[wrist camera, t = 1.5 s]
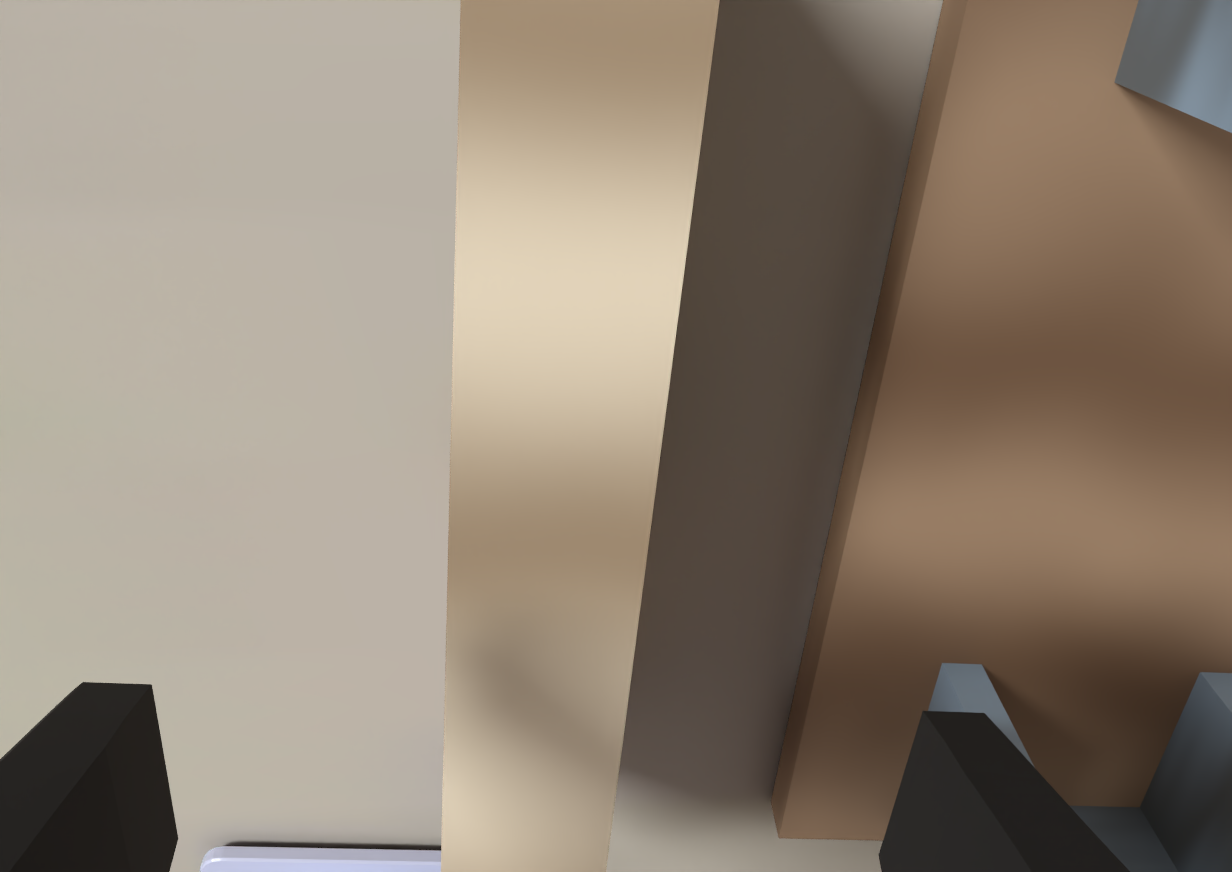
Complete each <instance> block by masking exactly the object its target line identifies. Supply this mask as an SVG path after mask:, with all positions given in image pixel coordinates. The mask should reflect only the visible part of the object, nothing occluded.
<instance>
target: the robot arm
mask: <svg viewBox="0 0 1232 872" xmlns="http://www.w3.org/2000/svg"><path fill="white" fill-rule="evenodd" d="M177 841H178V835H177V829H176V824H175V818H174V812H173V806H172V800H171V794H170V789H169V783H168V777H167V771H166V765H165V759H164V754H163V748H162V742H161V736H160V730H159V724H158V719H157V713H156V707H155V701H154V695H153V689H152V685H148V684H119V683H89V682H83V683H81V684H80V685H79V686H78V687H77V688H75V689H74V690H73V691H72V692H71V693H70V694H69V695H67V696H66V697H65V698H64V699H63V700H62V701H61V702H60V703H59V704H58V705H57V706H56V707H55V708H54V709H52V710H51V711H50V712H49V713H48V714H47V715H46V716H45V717H44V718H43V719H42V720H41V721H40V722H39V723H38V724H37V725H36V726H35V727H34V728H33V729H31V730H30V731H29V732H28V733H27V734H26V735H25V736H24V737H23V738H22V739H21V740H20V741H19V742H18V743H17V744H16V745H15V746H14V747H13V748H12V749H11V750H10V751H9V752H7V753H6V754H5V755H4V756H3V757H2V758H1V759H0V872H169V871H170V867H171V863H172V859H173V856H174V852H175V848H176V845H177ZM879 859H880V864H881V870H882V872H1130V871H1129V870H1128V869H1127V868H1126V867H1125V866H1124V864H1123V863H1122V862H1121V861H1120V860H1119V859H1118V858H1117V857H1116V856H1115V855H1114V854H1113V853H1112V852H1111V851H1110V850H1109V848H1108V847H1107V846H1106V845H1105V844H1104V843H1103V842H1102V841H1101V840H1100V839H1099V838H1098V837H1097V836H1096V834H1095V833H1094V832H1093V831H1092V830H1091V829H1090V828H1089V827H1088V826H1087V825H1086V824H1085V822H1084V821H1083V820H1082V819H1081V818H1080V817H1079V816H1078V815H1077V814H1076V813H1075V812H1074V810H1073V809H1072V808H1071V807H1070V806H1069V805H1068V804H1067V803H1066V802H1065V801H1064V800H1063V798H1062V797H1061V796H1060V795H1059V794H1058V793H1057V792H1056V791H1055V790H1054V789H1053V787H1052V786H1051V785H1050V784H1049V783H1048V782H1047V781H1046V780H1045V779H1044V777H1043V776H1042V775H1041V774H1040V773H1039V772H1038V771H1037V770H1036V769H1035V767H1034V766H1033V765H1032V764H1031V763H1030V762H1029V761H1028V760H1027V759H1026V757H1025V756H1024V755H1023V754H1022V753H1021V752H1020V751H1019V750H1018V749H1017V748H1016V746H1015V745H1014V744H1013V743H1012V742H1011V741H1010V740H1009V739H1008V738H1007V737H1006V735H1005V734H1004V733H1003V732H1002V731H1001V730H1000V729H999V728H998V727H997V726H996V725H995V724H994V723H993V721H992V720H991V719H990V718H989V717H988V716H987V715H986V714H985V713H974V712H945V711H923V712H922V715H921V718H920V721H919V725H918V728H917V731H916V735H915V738H914V741H913V744H912V748H911V751H910V754H909V757H908V761H907V764H906V767H905V771H904V774H903V777H902V780H901V784H900V787H899V790H898V794H897V797H896V800H895V803H894V807H893V810H892V813H891V816H890V820H889V823H888V826H887V830H886V833H885V836H884V839H883V843H882V846H881V849H880V853H879ZM200 872H441V850H393V849H344V848H295V847H246V846H222V847H216V848H213V849H211V850H209V851H208V852H207V853H206V854H205V856H204V858H203V861H202V864H201V867H200Z"/></svg>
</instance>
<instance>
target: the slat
mask: <svg viewBox="0 0 1232 872" xmlns="http://www.w3.org/2000/svg"><path fill="white" fill-rule="evenodd" d="M719 2H720V0H461V14H460V58H459V101H458V145H457V188H456V232H455V275H454V319H453V362H452V406H451V450H450V493H449V537H448V580H447V624H446V667H445V711H444V754H443V798H442V841H441V872H606V867H607V859H608V852H609V844H610V836H611V829H612V821H613V813H614V806H615V798H616V791H617V783H618V775H619V768H620V760H621V752H622V745H623V737H624V729H625V722H626V714H627V706H628V699H629V691H630V683H631V676H632V668H633V660H634V653H635V645H636V637H637V630H638V622H639V614H640V607H641V599H642V591H643V584H644V576H645V568H646V561H647V553H648V545H649V538H650V530H651V522H652V515H653V507H654V499H655V492H656V484H657V476H658V469H659V461H660V453H661V446H662V438H663V430H664V423H665V415H666V408H667V400H668V392H669V385H670V377H671V369H672V362H673V354H674V346H675V339H676V331H677V323H678V316H679V308H680V300H681V293H682V285H683V277H684V270H685V262H686V254H687V247H688V239H689V231H690V224H691V216H692V208H693V201H694V193H695V185H696V178H697V170H698V162H699V155H700V147H701V139H702V132H703V124H704V116H705V109H706V101H707V93H708V86H709V78H710V70H711V63H712V55H713V47H714V40H715V32H716V25H717V17H718V9H719Z"/></svg>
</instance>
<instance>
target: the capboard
mask: <svg viewBox="0 0 1232 872" xmlns="http://www.w3.org/2000/svg"><path fill="white" fill-rule="evenodd" d="M923 711H945V712H974V713H985V714H986V715H987V716H988V717H989V718H990V719H991V720H992V721H993V723H994V724H995V725H996V726H997V727H998V728H999V729H1000V730H1001V731H1002V732H1003V733H1004V734H1005V735H1006V737H1007V738H1008V739H1009V740H1010V741H1011V742H1012V743H1013V744H1014V745H1015V746H1016V748H1017V749H1018V750H1019V751H1020V752H1021V753H1022V754H1023V755H1024V756H1025V757H1026V759H1027V760H1028V761H1029V762H1030V763H1031V764H1032V765H1033V766H1034V767H1035V769H1036V770H1037V771H1038V772H1039V773H1040V774H1041V775H1042V776H1043V777H1044V779H1045V780H1046V781H1047V782H1048V783H1049V784H1050V785H1051V786H1052V787H1053V789H1054V790H1055V791H1056V792H1057V793H1058V794H1059V795H1060V796H1061V797H1062V798H1063V800H1064V801H1065V802H1066V803H1067V804H1068V805H1069V806H1070V807H1071V808H1072V809H1073V810H1074V812H1075V813H1076V814H1077V815H1078V816H1079V817H1080V818H1081V819H1082V820H1083V821H1084V822H1085V824H1086V825H1087V826H1088V827H1089V828H1090V829H1091V830H1092V831H1093V832H1094V833H1095V834H1096V836H1097V837H1098V838H1099V839H1100V840H1101V841H1102V842H1103V843H1104V844H1105V845H1106V846H1107V847H1108V848H1109V850H1110V851H1111V852H1112V853H1113V854H1114V855H1115V856H1116V857H1117V858H1118V859H1119V860H1120V861H1121V862H1122V863H1123V864H1124V866H1125V867H1126V868H1127V869H1128V870H1129V871H1130V872H1232V0H943V4H942V9H941V14H940V18H939V23H938V28H937V32H936V37H935V42H934V46H933V51H932V55H931V60H930V65H929V69H928V74H927V79H926V83H925V88H924V93H923V97H922V102H921V107H920V111H919V116H918V120H917V125H916V130H915V134H914V139H913V144H912V148H911V153H910V158H909V162H908V167H907V172H906V176H905V181H904V186H903V190H902V195H901V199H900V204H899V209H898V213H897V218H896V223H895V227H894V232H893V237H892V241H891V246H890V251H889V255H888V260H887V265H886V269H885V274H884V278H883V283H882V288H881V292H880V297H879V302H878V306H877V311H876V316H875V320H874V325H873V330H872V334H871V339H870V343H869V348H868V353H867V357H866V362H865V367H864V371H863V376H862V381H861V385H860V390H859V395H858V399H857V404H856V409H855V413H854V418H853V422H852V427H851V432H850V436H849V441H848V446H847V450H846V455H845V460H844V464H843V469H842V474H841V478H840V483H839V487H838V492H837V497H836V501H835V506H834V511H833V515H832V520H831V525H830V529H829V534H828V539H827V543H826V548H825V553H824V557H823V562H822V566H821V571H820V576H819V580H818V585H817V590H816V594H815V599H814V604H813V608H812V613H811V618H810V622H809V627H808V632H807V636H806V641H805V645H804V650H803V655H802V659H801V664H800V669H799V673H798V678H797V683H796V687H795V692H794V697H793V701H792V706H791V710H790V715H789V720H788V724H787V729H786V734H785V738H784V743H783V748H782V752H781V757H780V762H779V766H778V771H777V776H776V780H775V785H774V789H773V794H772V799H771V805H772V810H773V814H774V819H775V823H776V828H777V832H778V837H779V838H792V839H838V840H883V839H884V836H885V833H886V830H887V826H888V823H889V820H890V816H891V813H892V810H893V807H894V803H895V800H896V797H897V794H898V790H899V787H900V784H901V780H902V777H903V774H904V771H905V767H906V764H907V761H908V757H909V754H910V751H911V748H912V744H913V741H914V738H915V735H916V731H917V728H918V725H919V721H920V718H921V715H922V712H923Z"/></svg>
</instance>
